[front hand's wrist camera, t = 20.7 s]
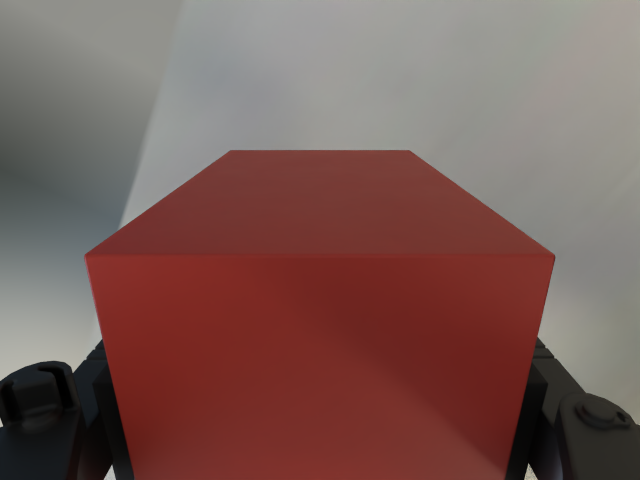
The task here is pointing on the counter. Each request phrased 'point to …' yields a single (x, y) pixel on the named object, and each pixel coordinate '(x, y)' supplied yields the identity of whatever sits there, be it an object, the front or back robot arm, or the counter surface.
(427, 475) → the brick
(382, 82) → the counter surface
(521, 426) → the front robot arm
